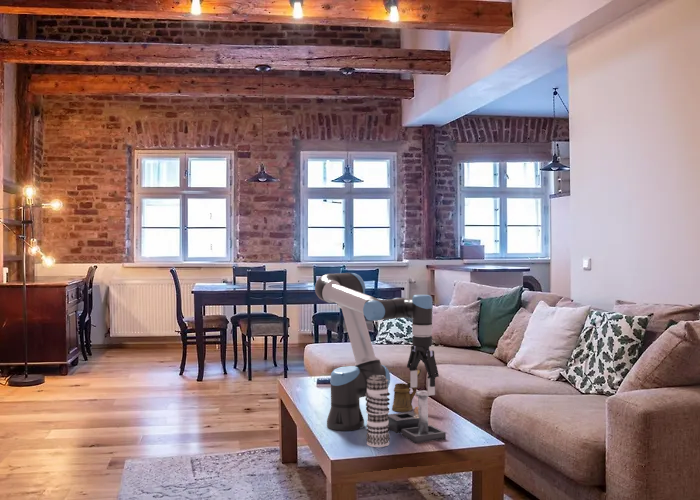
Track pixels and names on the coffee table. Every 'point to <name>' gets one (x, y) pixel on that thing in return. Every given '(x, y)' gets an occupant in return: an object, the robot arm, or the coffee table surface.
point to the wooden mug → (404, 396)
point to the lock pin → (423, 411)
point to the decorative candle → (377, 411)
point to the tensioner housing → (403, 420)
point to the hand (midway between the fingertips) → (422, 391)
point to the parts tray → (432, 434)
